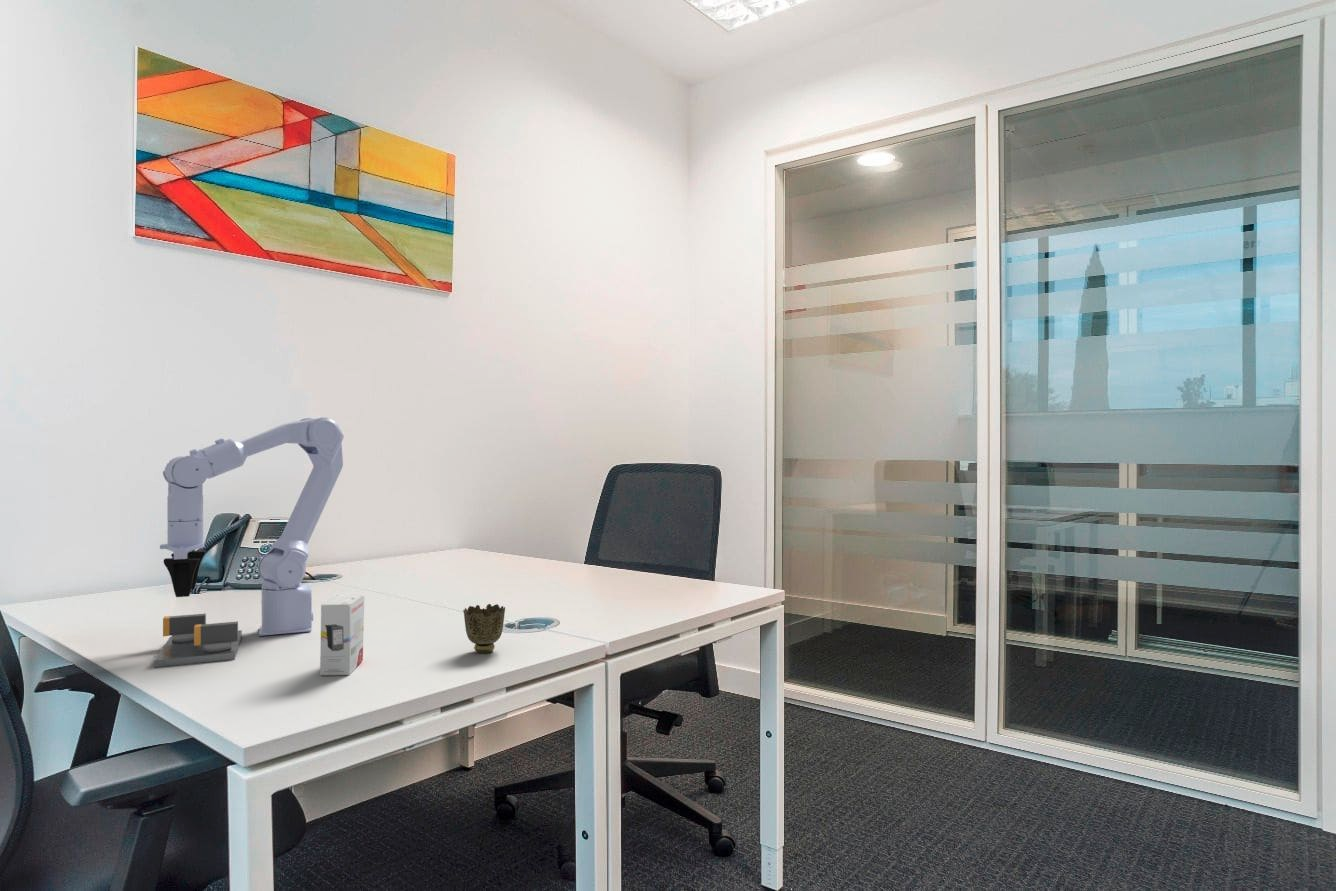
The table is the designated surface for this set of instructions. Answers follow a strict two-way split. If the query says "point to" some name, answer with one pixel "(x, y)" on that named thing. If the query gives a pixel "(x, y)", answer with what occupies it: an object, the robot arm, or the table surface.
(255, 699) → the table surface
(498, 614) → the cup
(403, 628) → the table surface
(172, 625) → the knob
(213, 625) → the knob
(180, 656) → the plate
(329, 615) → the ink box
